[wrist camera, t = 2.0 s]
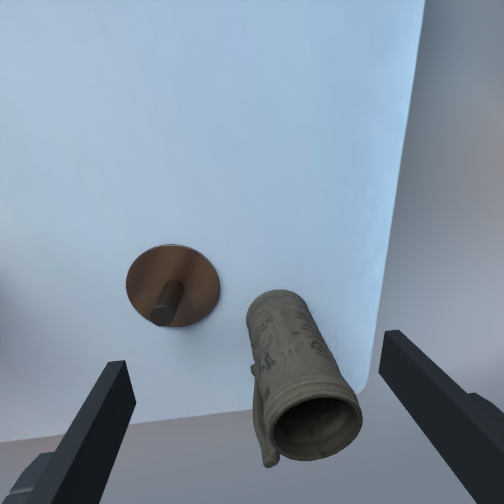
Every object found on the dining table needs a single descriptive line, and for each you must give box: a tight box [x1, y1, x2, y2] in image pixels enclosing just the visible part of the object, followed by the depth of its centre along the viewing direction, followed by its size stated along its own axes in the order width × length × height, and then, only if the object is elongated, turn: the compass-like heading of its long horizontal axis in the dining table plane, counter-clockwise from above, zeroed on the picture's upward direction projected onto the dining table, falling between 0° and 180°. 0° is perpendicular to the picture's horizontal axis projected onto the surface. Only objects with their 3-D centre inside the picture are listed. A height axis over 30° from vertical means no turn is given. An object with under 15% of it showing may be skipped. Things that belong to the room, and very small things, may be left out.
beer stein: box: [246, 290, 363, 468], centre depth 34 cm, size 15×11×20 cm
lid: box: [126, 244, 220, 327], centre depth 35 cm, size 14×14×8 cm
